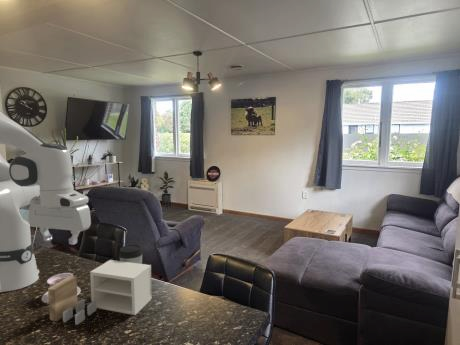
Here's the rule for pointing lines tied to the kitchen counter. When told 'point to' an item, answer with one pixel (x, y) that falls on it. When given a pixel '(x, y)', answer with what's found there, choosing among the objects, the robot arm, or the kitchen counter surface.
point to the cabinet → (116, 289)
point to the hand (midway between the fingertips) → (60, 242)
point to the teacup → (54, 281)
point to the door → (62, 297)
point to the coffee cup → (131, 254)
